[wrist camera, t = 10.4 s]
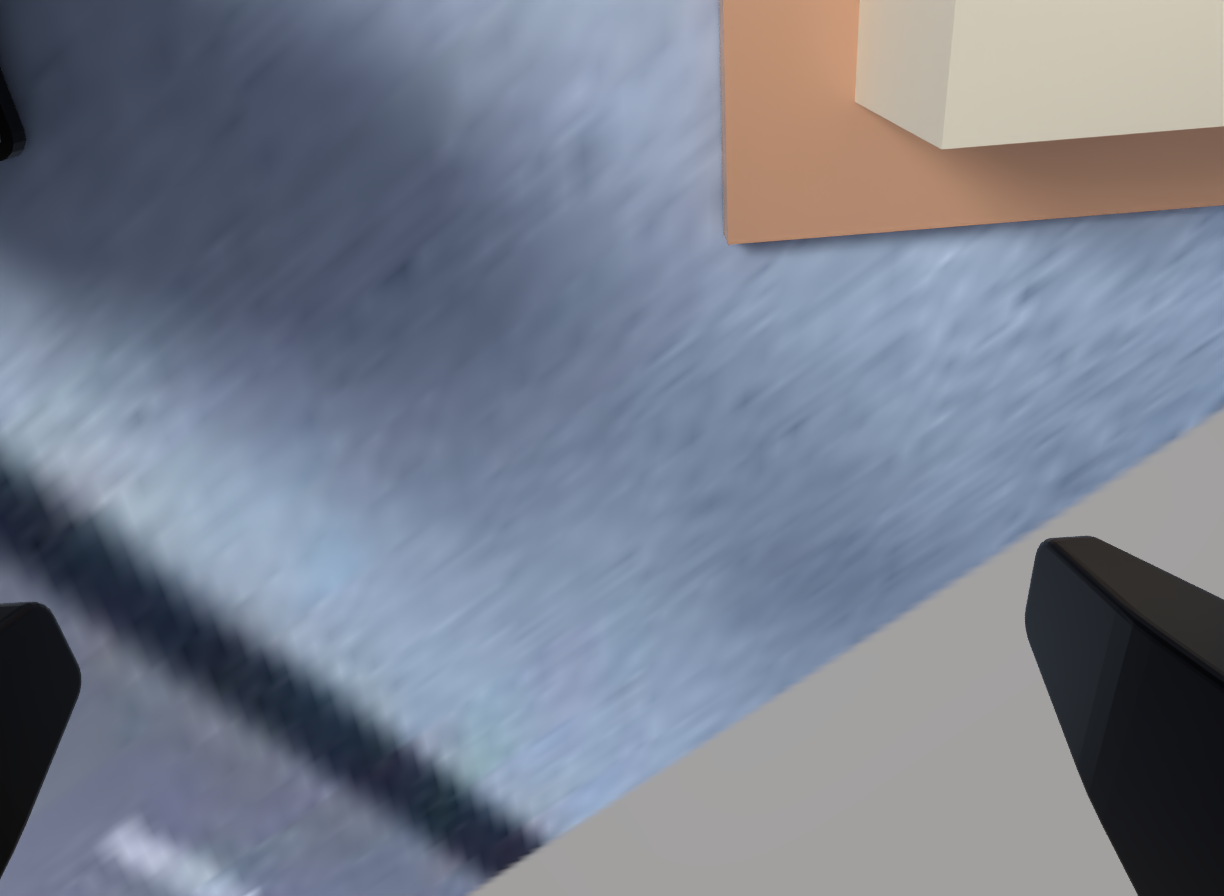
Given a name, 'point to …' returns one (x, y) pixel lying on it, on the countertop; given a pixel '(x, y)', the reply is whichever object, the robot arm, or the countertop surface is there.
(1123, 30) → the cream letter cube
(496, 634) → the countertop surface
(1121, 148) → the terracotta tile
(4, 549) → the countertop surface
